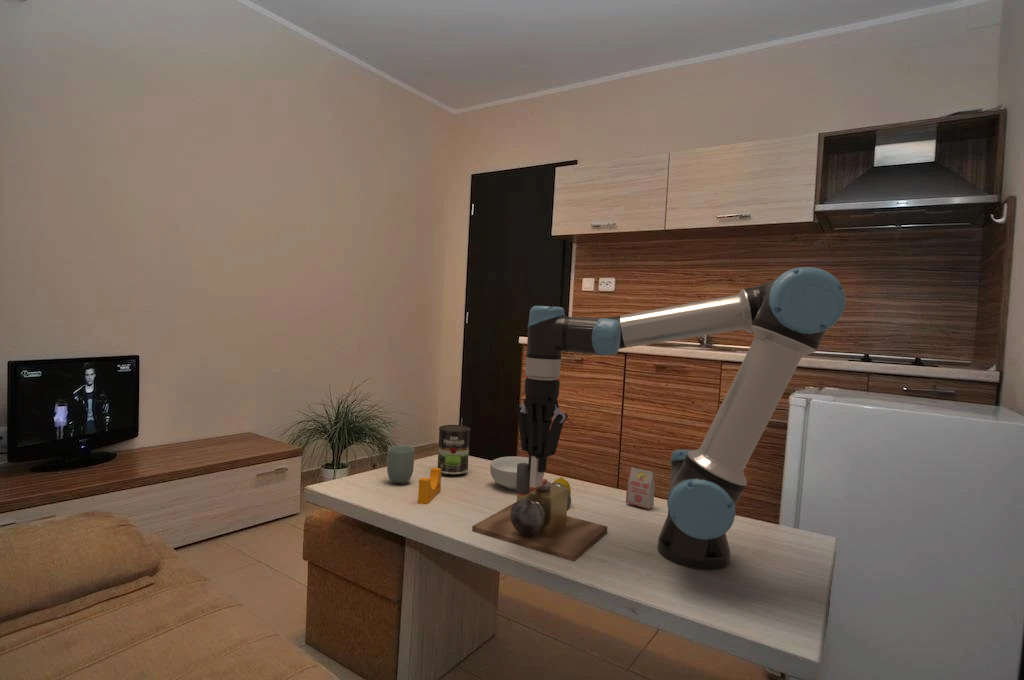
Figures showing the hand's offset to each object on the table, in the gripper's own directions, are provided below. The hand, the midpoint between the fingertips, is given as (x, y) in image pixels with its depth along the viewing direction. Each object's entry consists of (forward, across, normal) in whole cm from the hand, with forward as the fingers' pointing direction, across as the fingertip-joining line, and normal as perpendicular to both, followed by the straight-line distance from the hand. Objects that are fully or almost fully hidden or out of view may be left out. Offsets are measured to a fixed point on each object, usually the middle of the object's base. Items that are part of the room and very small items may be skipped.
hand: (536, 485), depth 110 cm
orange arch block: (+15, +42, -5) cm, 45 cm away
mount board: (+15, +5, -10) cm, 18 cm away
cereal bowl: (+15, +31, -31) cm, 47 cm away
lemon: (+15, +12, -28) cm, 34 cm away
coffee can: (+15, +56, -27) cm, 64 cm away
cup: (+15, +57, -7) cm, 60 cm away
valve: (+13, +5, -10) cm, 17 cm away
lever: (+4, +5, -9) cm, 11 cm away
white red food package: (+15, -2, -46) cm, 49 cm away
